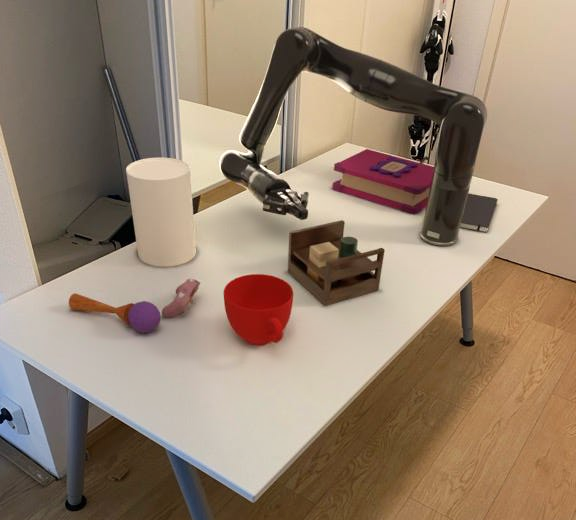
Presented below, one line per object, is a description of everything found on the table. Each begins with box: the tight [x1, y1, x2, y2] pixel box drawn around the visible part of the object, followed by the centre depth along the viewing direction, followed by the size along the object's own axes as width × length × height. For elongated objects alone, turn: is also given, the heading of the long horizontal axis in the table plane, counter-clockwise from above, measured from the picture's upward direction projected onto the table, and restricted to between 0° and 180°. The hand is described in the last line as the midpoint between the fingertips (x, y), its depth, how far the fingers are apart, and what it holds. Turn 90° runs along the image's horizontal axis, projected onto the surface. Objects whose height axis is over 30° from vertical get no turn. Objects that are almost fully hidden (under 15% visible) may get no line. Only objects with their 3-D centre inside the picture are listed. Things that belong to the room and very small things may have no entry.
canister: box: [125, 157, 197, 267], centre depth 132 cm, size 14×14×20 cm
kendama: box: [68, 293, 162, 334], centre depth 115 cm, size 6×6×20 cm
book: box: [331, 148, 434, 215], centre depth 171 cm, size 21×28×8 cm
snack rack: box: [287, 219, 386, 307], centre depth 128 cm, size 14×16×10 cm
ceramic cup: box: [223, 273, 294, 346], centre depth 110 cm, size 13×17×10 cm
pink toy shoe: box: [161, 277, 201, 319], centre depth 119 cm, size 10×5×7 cm, turn 168°
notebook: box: [460, 192, 499, 233], centre depth 162 cm, size 13×2×21 cm
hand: (304, 215), depth 133 cm, fingers closed
